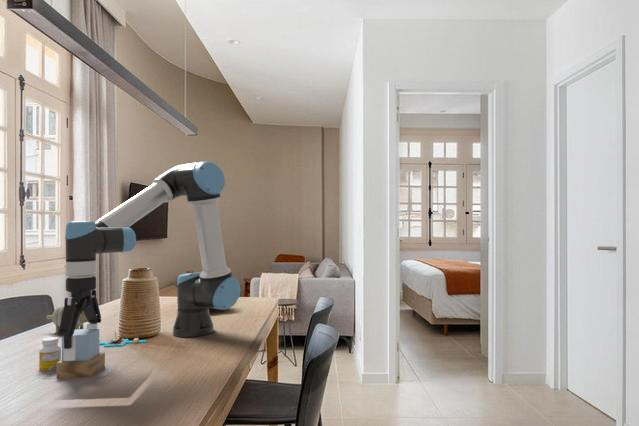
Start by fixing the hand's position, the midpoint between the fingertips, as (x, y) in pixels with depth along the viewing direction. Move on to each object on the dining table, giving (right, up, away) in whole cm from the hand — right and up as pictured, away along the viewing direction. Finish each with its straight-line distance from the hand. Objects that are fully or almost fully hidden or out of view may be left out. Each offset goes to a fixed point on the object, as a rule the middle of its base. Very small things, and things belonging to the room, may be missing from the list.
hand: (81, 353), depth 128 cm
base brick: (0, -5, 0) cm, 5 cm away
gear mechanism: (-6, -8, +36) cm, 37 cm away
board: (0, -7, 0) cm, 7 cm away
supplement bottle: (-11, -7, +4) cm, 14 cm away
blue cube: (0, -1, 0) cm, 1 cm away
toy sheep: (-33, -8, +54) cm, 64 cm away
